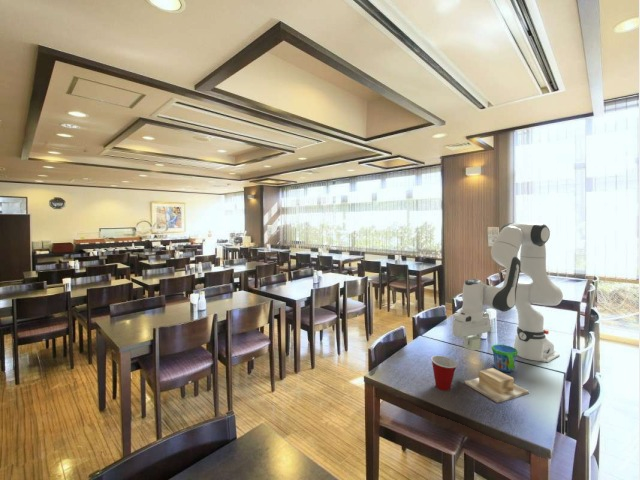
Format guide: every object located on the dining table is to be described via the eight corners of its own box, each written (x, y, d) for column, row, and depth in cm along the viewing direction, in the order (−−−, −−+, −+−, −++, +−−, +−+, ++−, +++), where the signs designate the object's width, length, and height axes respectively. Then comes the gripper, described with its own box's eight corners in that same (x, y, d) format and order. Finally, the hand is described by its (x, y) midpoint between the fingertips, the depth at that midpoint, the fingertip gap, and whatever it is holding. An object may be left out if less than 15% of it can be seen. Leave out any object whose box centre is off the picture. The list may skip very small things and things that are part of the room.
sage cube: (471, 345, 150) (471, 334, 150) (480, 349, 145) (480, 338, 145) (463, 346, 148) (463, 336, 148) (472, 350, 144) (472, 340, 143)
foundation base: (494, 375, 145) (494, 363, 144) (528, 393, 130) (529, 379, 130) (464, 383, 138) (465, 370, 138) (497, 402, 123) (497, 388, 123)
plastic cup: (460, 395, 129) (461, 366, 128) (432, 393, 131) (433, 364, 130) (453, 382, 139) (454, 355, 139) (428, 380, 141) (428, 353, 140)
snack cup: (487, 360, 160) (487, 341, 160) (510, 363, 158) (511, 343, 157) (496, 375, 145) (497, 354, 144) (522, 378, 142) (522, 356, 142)
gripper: (483, 309, 152) (482, 337, 153) (450, 315, 145) (450, 344, 146) (494, 313, 147) (493, 342, 148) (461, 319, 139) (460, 349, 140)
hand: (471, 343), depth 147 cm, fingers closed on sage cube, 5 cm apart
